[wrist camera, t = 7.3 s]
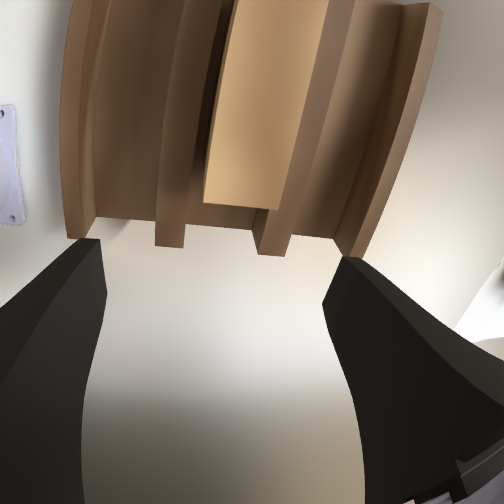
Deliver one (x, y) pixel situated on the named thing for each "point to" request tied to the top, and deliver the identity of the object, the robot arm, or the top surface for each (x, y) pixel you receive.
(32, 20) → the top surface
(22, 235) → the top surface
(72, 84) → the notched ledge
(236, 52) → the tall wooden plank
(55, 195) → the top surface
